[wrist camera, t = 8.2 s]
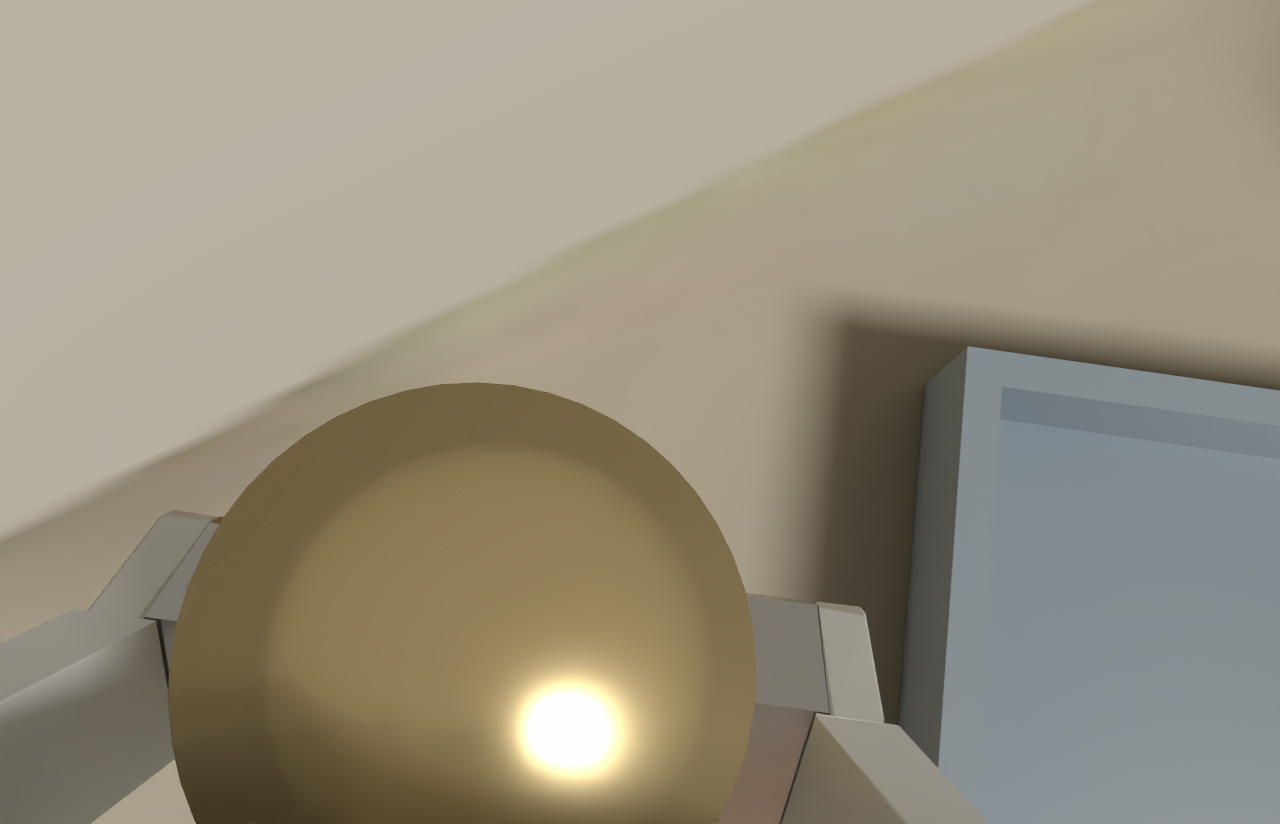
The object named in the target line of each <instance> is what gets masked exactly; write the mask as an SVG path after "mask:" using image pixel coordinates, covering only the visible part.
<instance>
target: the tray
mask: <svg viewBox="0 0 1280 824" xmlns="http://www.w3.org/2000/svg"><path fill="white" fill-rule="evenodd" d="M898 725H899V726H900V727H901V728H902V730H903V731H904V732H905V733H906V734H907V735H908V736H909V737H910V738H911V739H912V740H913V742H914V743H915V744H916V745H917V746H918V747H919V748H920V749H921V750H922V751H923V752H924V754H925V755H926V756H927V757H928V758H929V759H930V760H931V761H932V762H933V763H934V764H935V766H936V767H937V768H938V769H939V770H940V771H941V772H942V773H943V774H944V775H945V777H946V778H947V779H948V780H949V781H950V782H951V783H952V784H953V785H954V786H955V787H956V789H957V790H958V791H959V792H960V793H961V794H962V795H963V796H964V797H965V798H966V799H967V801H968V802H969V803H970V804H971V805H972V806H973V807H974V808H975V809H976V810H977V811H978V813H979V814H980V815H981V816H982V817H983V818H984V819H985V820H986V821H987V822H988V824H1280V391H1279V390H1272V389H1265V388H1258V387H1251V386H1244V385H1237V384H1230V383H1223V382H1216V381H1209V380H1202V379H1195V378H1188V377H1181V376H1174V375H1167V374H1160V373H1153V372H1145V371H1138V370H1131V369H1124V368H1117V367H1110V366H1103V365H1096V364H1089V363H1082V362H1075V361H1068V360H1061V359H1054V358H1047V357H1040V356H1033V355H1026V354H1019V353H1012V352H1005V351H998V350H991V349H984V348H977V347H969V346H967V347H966V348H965V349H964V350H963V351H962V352H961V353H960V354H958V355H957V356H956V357H955V358H954V359H953V360H952V361H951V362H949V363H948V364H947V365H946V366H945V367H944V368H943V369H942V370H940V371H939V372H938V373H937V374H936V375H935V376H934V377H933V378H931V379H930V380H929V381H928V382H927V383H926V384H925V389H924V402H923V414H922V427H921V440H920V452H919V465H918V477H917V490H916V503H915V515H914V528H913V541H912V553H911V566H910V578H909V591H908V604H907V616H906V629H905V642H904V654H903V667H902V680H901V692H900V705H899V717H898Z"/></svg>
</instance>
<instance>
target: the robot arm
mask: <svg viewBox="0 0 1280 824" xmlns="http://www.w3.org/2000/svg"><path fill="white" fill-rule="evenodd" d="M223 518H224V517H218V518H217V517H213V516H208V515H202V514H196V513H190V512H184V511H178V510H172V511H170V512H168V513H166V514H164V515H162V516H161V517H160V518H159V519H158V520H157V522H156V523H155V524H154V525H153V527H152V528H151V529H150V531H149V532H148V533H147V534H146V536H145V537H144V538H143V540H142V541H141V542H140V544H139V545H138V546H137V547H136V549H135V550H134V551H133V553H132V554H131V555H130V557H129V558H128V559H127V560H126V562H125V563H124V564H123V566H122V567H121V568H120V569H119V571H118V572H117V573H116V575H115V576H114V577H113V579H112V580H111V581H110V582H109V584H108V585H107V586H106V588H105V589H104V590H103V591H102V593H101V594H100V595H99V597H98V598H97V599H96V601H95V602H94V603H93V604H92V606H91V607H90V608H89V610H88V611H84V610H76V609H73V610H70V611H68V612H66V613H64V614H62V615H60V616H58V617H56V618H54V619H52V620H50V621H47V622H45V623H43V624H41V625H39V626H37V627H35V628H33V629H31V630H29V631H27V632H24V633H22V634H20V635H18V636H16V637H14V638H12V639H10V640H8V641H6V642H4V643H2V644H0V824H91V823H92V822H93V821H94V820H96V819H97V818H98V817H100V816H101V815H102V814H104V813H105V812H106V811H107V810H109V809H110V808H111V807H113V806H114V805H115V804H117V803H118V802H119V801H120V800H122V799H123V798H124V797H126V796H127V795H128V794H130V793H131V792H132V791H133V790H135V789H136V788H137V787H139V786H140V785H141V784H143V783H144V782H145V781H146V780H148V779H149V778H150V777H152V776H153V775H154V774H156V773H157V772H158V771H160V770H161V769H162V768H163V767H165V766H166V765H167V764H169V763H170V762H171V761H173V760H174V759H175V756H174V752H173V747H172V742H171V731H170V720H169V709H168V692H169V667H170V658H171V653H172V647H173V641H174V635H175V629H176V624H177V620H178V617H179V614H180V610H181V607H182V604H183V600H184V597H185V594H186V591H187V587H188V585H189V582H190V580H191V578H192V576H193V573H194V571H195V569H196V567H197V564H198V562H199V560H200V558H201V555H202V553H203V551H204V549H205V547H206V546H207V544H208V542H209V541H210V539H211V537H212V536H213V534H214V532H215V531H216V529H217V527H218V526H219V524H220V522H221V521H222V519H223ZM746 597H747V602H748V606H749V611H750V616H751V621H752V625H753V633H754V645H755V657H756V684H755V706H754V712H753V718H752V723H751V729H750V735H749V741H748V746H747V749H746V752H745V756H744V759H743V762H742V766H741V769H740V772H739V775H738V779H737V782H736V785H735V787H734V789H733V791H732V793H731V796H730V798H729V800H728V802H727V804H726V807H725V809H724V811H723V813H722V816H721V818H720V820H719V822H718V823H717V824H988V822H987V821H986V820H985V819H984V818H983V817H982V816H981V815H980V814H979V813H978V811H977V810H976V809H975V808H974V807H973V806H972V805H971V804H970V803H969V802H968V801H967V799H966V798H965V797H964V796H963V795H962V794H961V793H960V792H959V791H958V790H957V789H956V787H955V786H954V785H953V784H952V783H951V782H950V781H949V780H948V779H947V778H946V777H945V775H944V774H943V773H942V772H941V771H940V770H939V769H938V768H937V767H936V766H935V764H934V763H933V762H932V761H931V760H930V759H929V758H928V757H927V756H926V755H925V754H924V752H923V751H922V750H921V749H920V748H919V747H918V746H917V745H916V744H915V743H914V742H913V740H912V739H911V738H910V737H909V736H908V735H907V734H906V733H905V732H904V731H903V730H902V728H901V727H900V726H899V725H893V724H887V723H885V721H884V716H883V710H882V704H881V698H880V693H879V687H878V681H877V676H876V670H875V664H874V659H873V653H872V647H871V642H870V636H869V630H868V625H867V619H866V614H865V612H864V611H863V610H862V608H861V607H858V606H849V605H841V604H833V603H825V602H816V601H815V602H814V603H813V602H810V601H802V600H795V599H787V598H780V597H772V596H765V595H758V594H750V593H746Z"/></svg>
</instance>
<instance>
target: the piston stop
mask: <svg viewBox="0 0 1280 824" xmlns="http://www.w3.org/2000/svg"><path fill="white" fill-rule="evenodd" d="M755 684H756V657H755V645H754V633H753V625H752V621H751V616H750V611H749V606H748V602H747V597H746V592H745V589H744V586H743V583H742V580H741V577H740V575H739V572H738V569H737V566H736V563H735V560H734V557H733V555H732V553H731V551H730V549H729V547H728V545H727V543H726V541H725V539H724V537H723V535H722V533H721V531H720V529H719V527H718V525H717V523H716V521H715V520H714V518H713V517H712V515H711V514H710V512H709V511H708V509H707V508H706V506H705V505H704V503H703V502H702V500H701V499H700V497H699V496H698V494H697V493H696V491H695V490H694V489H693V488H692V487H691V486H690V485H689V483H688V482H687V481H686V480H685V479H684V478H683V477H682V475H681V474H680V473H679V472H678V471H677V470H676V469H675V468H674V466H673V465H672V464H671V463H670V462H668V461H667V460H666V459H665V458H664V457H663V456H662V455H661V454H659V453H658V452H657V451H656V450H655V449H654V448H653V447H651V446H650V445H649V444H648V443H647V442H646V441H645V440H643V439H642V438H640V437H639V436H637V435H636V434H634V433H633V432H631V431H630V430H628V429H627V428H625V427H624V426H622V425H621V424H619V423H618V422H616V421H615V420H613V419H611V418H609V417H607V416H605V415H603V414H601V413H599V412H597V411H595V410H593V409H591V408H589V407H587V406H585V405H583V404H580V403H577V402H574V401H571V400H568V399H565V398H563V397H560V396H557V395H554V394H551V393H548V392H543V391H538V390H533V389H529V388H524V387H519V386H514V385H502V384H489V383H459V384H441V385H435V386H429V387H424V388H418V389H412V390H406V391H403V392H400V393H396V394H393V395H390V396H387V397H383V398H380V399H377V400H373V401H370V402H368V403H366V404H364V405H361V406H359V407H357V408H355V409H352V410H350V411H348V412H346V413H344V414H341V415H339V416H337V417H335V418H333V419H332V420H330V421H328V422H327V423H325V424H324V425H322V426H320V427H319V428H317V429H315V430H314V431H312V432H310V433H309V434H307V435H305V436H304V437H303V438H301V439H300V440H299V441H297V442H296V443H295V444H294V445H292V446H291V447H290V448H289V449H287V450H286V451H285V452H283V453H282V454H281V455H280V456H278V457H277V458H276V459H275V460H274V461H273V462H272V463H271V464H270V465H269V466H268V467H267V468H266V469H265V470H264V471H263V472H262V473H261V474H260V475H259V476H258V477H257V478H256V479H255V480H254V481H253V482H252V483H251V484H250V485H249V486H248V487H247V488H246V489H245V490H244V492H243V493H242V494H241V496H240V497H239V498H238V499H237V501H236V502H235V503H234V505H233V506H232V507H231V508H230V510H229V511H228V512H227V514H226V515H225V516H224V518H223V519H222V521H221V522H220V524H219V526H218V527H217V529H216V531H215V532H214V534H213V536H212V537H211V539H210V541H209V542H208V544H207V546H206V547H205V549H204V551H203V553H202V555H201V558H200V560H199V562H198V564H197V567H196V569H195V571H194V573H193V576H192V578H191V580H190V582H189V585H188V587H187V591H186V594H185V597H184V600H183V604H182V607H181V610H180V614H179V617H178V620H177V624H176V629H175V635H174V641H173V647H172V653H171V658H170V667H169V692H168V709H169V720H170V731H171V742H172V747H173V752H174V756H175V760H176V765H177V769H178V774H179V778H180V783H181V785H182V788H183V791H184V793H185V796H186V799H187V801H188V804H189V807H190V809H191V812H192V815H193V817H194V820H195V822H196V824H717V823H718V822H719V820H720V818H721V816H722V813H723V811H724V809H725V807H726V804H727V802H728V800H729V798H730V796H731V793H732V791H733V789H734V787H735V785H736V782H737V779H738V775H739V772H740V769H741V766H742V762H743V759H744V756H745V752H746V749H747V746H748V741H749V735H750V729H751V723H752V718H753V712H754V706H755Z"/></svg>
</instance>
